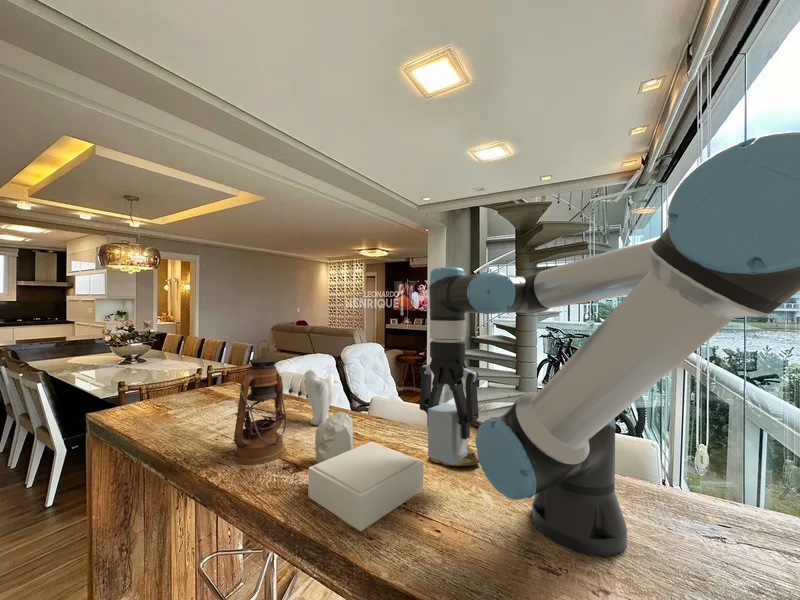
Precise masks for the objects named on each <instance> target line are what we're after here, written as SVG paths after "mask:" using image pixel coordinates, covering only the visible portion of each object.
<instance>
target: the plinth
mask: <svg viewBox="0 0 800 600" xmlns="http://www.w3.org/2000/svg"><path fill="white" fill-rule="evenodd" d="M307 479H308V484H307V485H308V487H307V488H308V492H307V493H308V495H307V496H308V498H310V499H311V500H312V501H314V502H315V503H317V504H318V505H320V506H321V507H323V508H324V509H325V510H328V511H329V512H330V513H332V514H334V515H335V516H336V517H338V518H339V519H341V520H342V521H344V522H345V523H347V524H348V525H350V526H351V527H353V528H354V529H356V530H358V531H360V532H362V531H364V530H365V529H367V528H368V527H370V526H371V525H372V524H374V523H376V522H377V521H379V520H380V519H382V518H383V517H384V516H386V515H387V514H389V513H391V512H392V511H394V510H395V509H397V508H398V507H399V506H401V505H402V504H405V502H407V501H408V500H410V499H411V498H413V497H414V496H416V495H417V494H419V493H420V492H422V491H424V461H422V460H420V459H418V458H416V457H412V456H410V455H408V454H405V453H403V452H399V451H397V450H395V449H392V448H389V447H387V446H384V445H382V444H379V443H376V442H374V441H372V440H371V441H369V442H367V443H365V444H362V445H359V446H357V447H354V448H353V449H352V450H350V451H347V452H345V453H343V454H340V455H338V456H335V457H333V458H331V459H328V460H326V461H323V462H321V463H319V464H317V463H316V464H314V465H312V466H309V467H308V478H307Z"/></svg>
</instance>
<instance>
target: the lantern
mask: <svg viewBox="0 0 800 600" xmlns="http://www.w3.org/2000/svg"><path fill="white" fill-rule="evenodd" d="M262 342H265V343H267V347H268V349H267V354H266V355H263V356H260V355H259V354H257V357H256V358H251V359H248V363H250V366H249V367H247V368H248V370H247V375H246V376H245V377H244V379H243V380H242V382H241V384H240V386H239V390H240V392H239V400H238V407H237V412H236V413H235V415H236V421H235V429H234V433H233V441H234V445H235V446H236V449H235V452H234V454H233V456H232V460H233V462H235V463H236V464H239V465H244V466H245V465H246V466H256V465H263V464H266V463H267V464H268V463H270V462H273V461H276V460H277V459H280V458H281V457H283V456H284V454H285V453H286V451H287V450H286V446H285V445H284V444H283V443H284V442H283V437H284V436H283V435H284V432H285V430H286V425H287V420H288V418H287V412H286V409H285V403H284V394H283V393H284V384H283V377H282V376H281V374H280V372H279V371H278V369H277V366H276V362H277V361H278V360H279V359H278V358H276V357H274V356H273V357H272V356H271V357H270V356H269V351H270V344H269V342H268V341H267V340H260V343H262ZM260 343H258V344H257V349H256V350H257V351H256V352H257V353H259V345H260ZM249 388H250V393H249ZM270 400H274V407H275V411H274V412H272V411H270V410H268V411H267V410H266V409H261V408H258V407H254V406H257V405H258V404H260V403H264V402H267V401H270ZM247 401H249V402H250V401H251V402H254V403H253V404H251V405H249V403H248V402H247ZM256 411H260V412H266V413H269V414H271V415H273V416H267V415H261V414H260V416H261V417H262V418H263V419H256V420H255V418H254V414H257V415H259V413H257V412H256ZM253 413H254V414H253ZM250 416H251V417H250ZM251 419H252V420H251ZM283 421H284V426H283V430H282V433H280V432H277V431H278V430H279V428H280V426H281V425H282V423H283ZM244 427H245V428H244Z"/></svg>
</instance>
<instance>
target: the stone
mask: <svg viewBox="0 0 800 600" xmlns="http://www.w3.org/2000/svg"><path fill="white" fill-rule="evenodd" d="M353 424H354V423H353V419H352V418H351V416H350V415H349V414H347V413H345V412H343V411H337V412H335V413H334V414H333V415H331V416H330V415H329V417H328V418H327V419H326V421H325V423H321V424H319V425H317V426H318V427H317V428H316V430H315V461H316V464H319V463H321V462H323V461H326V460H328V459H331V458H333V457H335V456H338V455H340V454H343V453H345V452H347V451H350V450H352V449H354V444H353V443H354V442H353V440H354V431H355V430H354V425H353Z"/></svg>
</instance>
